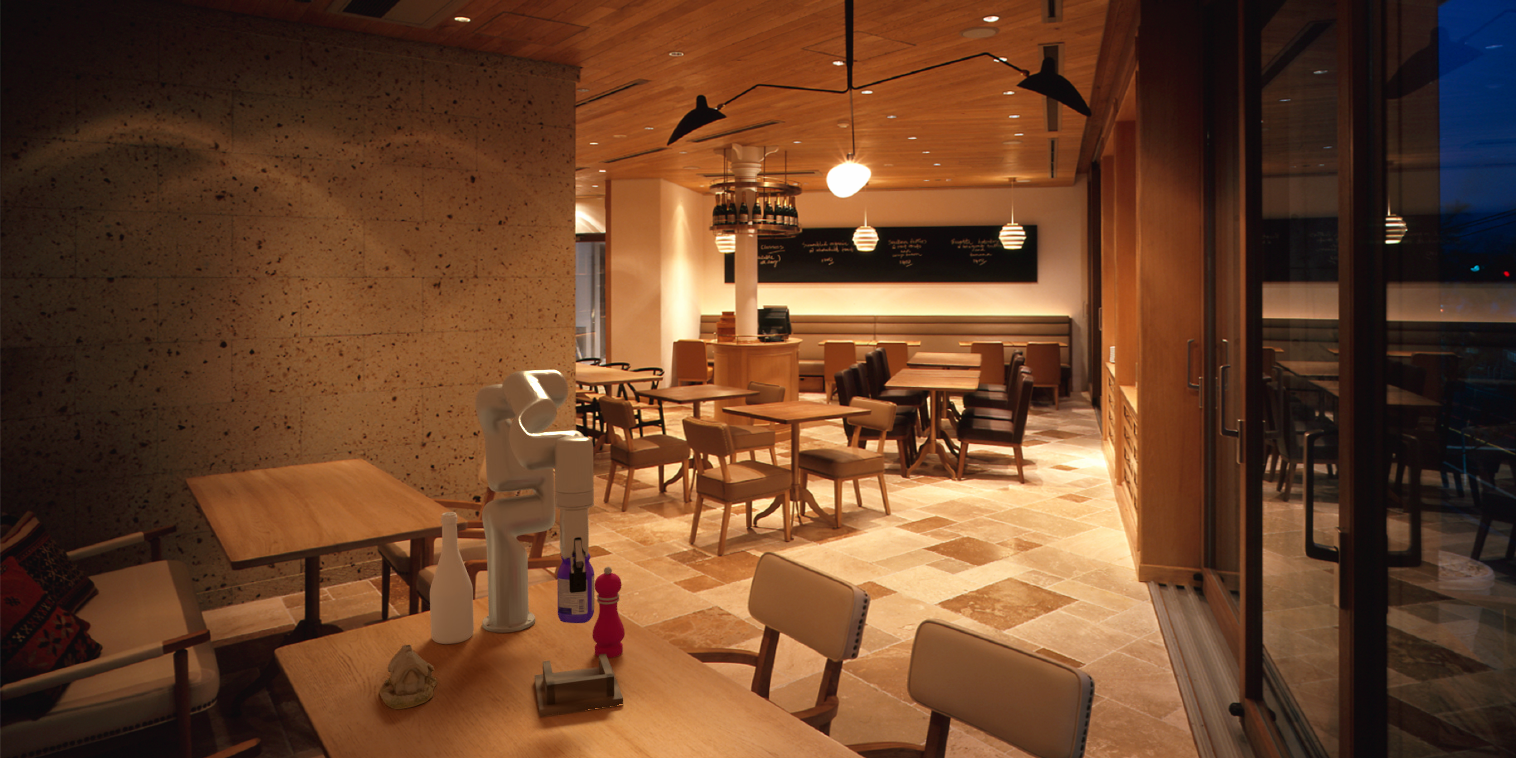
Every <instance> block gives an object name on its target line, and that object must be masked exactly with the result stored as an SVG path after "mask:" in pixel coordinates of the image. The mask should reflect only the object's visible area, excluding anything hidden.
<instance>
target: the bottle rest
mask: <svg viewBox="0 0 1516 758" xmlns="http://www.w3.org/2000/svg"><path fill="white" fill-rule="evenodd" d="M614 672H615V671H614V669H613V667H612V665H611V663H610V661H609V658H607V655H606V654H600V655H599V657H598V666H597V667H596V666H595V667H588V668H582V669H581V668H580V669H574V670H565V671H556V672H553V668H552V663H551V660H545V661H542V674H534V687H535V693H536V700H537V707H538V713H539V718H544V717H552V716H558V714H559V715H566V714H573V713H579V712H580V713H581V712H586V711H585V710H587V711H589V710H588V709H594V710H596V709H595V708H601V709H603V708H602V707H608V708H611V707H610V706H615V707H618V706H617V705H619V704H623V705H624V697H623V694H622V692H621V688H620V686H619V683H618V681H617V680H618V679H617V678H616V675H615V673H614Z"/></svg>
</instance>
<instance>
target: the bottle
mask: <svg viewBox="0 0 1516 758" xmlns="http://www.w3.org/2000/svg"><path fill="white" fill-rule="evenodd" d="M574 546H575V545H574ZM572 557H576V555H575V554H572ZM560 558H561V560H562V561H561V564H560V566H559V568H558V571H557V576H556V577H557V616H558V620H560V622H562V623H565V624H566V623H567V624H585V623H588V622H590V621H591V619H592V618H593V616H594V613H595V570H594V567H593V565H592V564H591V562H590V559H591V554H590V553H589V552H588V556H587V557H586V558H585V571H586V591H585V592H576V593H571V592H570V586H569V572H571V567H570V558H567V559H564V558H563V557H562V555H561V556H560ZM574 562H576V560H573V564H574Z"/></svg>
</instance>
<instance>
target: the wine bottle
mask: <svg viewBox="0 0 1516 758" xmlns="http://www.w3.org/2000/svg"><path fill="white" fill-rule="evenodd" d="M458 520H459V518H458V515H457V512H455V511H446V512H443V513H441V516H440V524H441V525H442V526H441V531H442V532H441V533H442V534H441V537H442V538H441V539H442V540H441V541H442V542H441V552H440V556H439V560H438V563H437V566H436V569H435V572H434V576H433V578H432V580H431V581H432V582H431V585H430V589H429V603H430V604H429V606H430V607H429V608H430V610H429V611H430V612H429V613H430V635H431V639H432V641H434V642H435V643H437V644H441V645H451V644H458V643H462V642H465V641H467V640H469V639H470V638H471V637H473V634H474V630H475V627H474V598H473V597H474V594H473V593H474V590H473V587H474V586H473V584H472V581H471V578H470V576H469V573H468V572H467V568H466V566H465V563H464V561H463V558H462V555H461V552H460V550H459V543H458V527H457V526H458V525H457V523H458Z"/></svg>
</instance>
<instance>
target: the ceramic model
mask: <svg viewBox="0 0 1516 758" xmlns="http://www.w3.org/2000/svg"><path fill="white" fill-rule="evenodd" d="M387 665H388V666H387V671H388V673H390V674H389V678H387V679H385V680H384V681H383V684H382V685H381V687H380V689H379V690H378V691H379V695H380V697H381V700H382V701H383V702H384V703H385V705H386V706H387V707H389V708H391V709H394V710H402V709H408V708H414V707H417V706H419V705H422V704H424V703H427V702H428V701H429V700H431V699H432V698H433V697H434V690H435V687H436V685H438V684H437V683H438V680H437V678H436V677H434V676H433V672H434V671H435V669H434V665H433V664H431V663H429V662H427V661H425V659H423V658H422V657H421V656H419V654H418V653H417V652H415V650H413V648H412V644H403V645H402V646H401V647H400V649H399V650H398V651H397V652H396V653H395V654H394V656H393V657H392V658H391V660H390V661H389V663H388V664H387Z"/></svg>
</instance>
